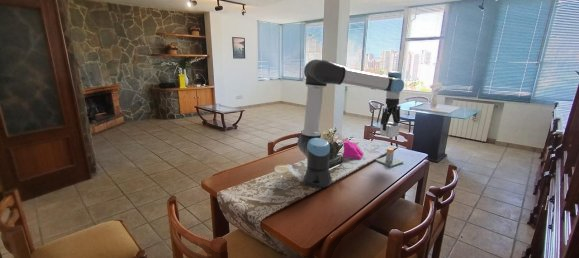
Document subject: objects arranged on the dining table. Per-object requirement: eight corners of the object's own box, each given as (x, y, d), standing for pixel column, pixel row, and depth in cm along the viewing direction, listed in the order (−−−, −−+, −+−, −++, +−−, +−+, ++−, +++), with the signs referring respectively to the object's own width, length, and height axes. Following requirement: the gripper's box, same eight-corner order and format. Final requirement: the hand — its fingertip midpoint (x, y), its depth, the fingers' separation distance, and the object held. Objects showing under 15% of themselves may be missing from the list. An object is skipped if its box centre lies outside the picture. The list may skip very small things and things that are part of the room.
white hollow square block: (390, 137, 163) (391, 126, 161) (379, 134, 169) (380, 123, 167) (398, 135, 167) (399, 124, 165) (388, 132, 173) (389, 121, 171)
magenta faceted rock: (342, 156, 183) (343, 142, 180) (346, 151, 192) (347, 138, 189) (360, 159, 178) (361, 145, 175) (363, 154, 187) (364, 140, 184)
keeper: (390, 167, 166) (392, 153, 163) (375, 160, 175) (376, 148, 173) (402, 163, 172) (404, 150, 169) (387, 157, 181) (388, 144, 179)
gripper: (386, 100, 153) (383, 138, 159) (408, 96, 164) (405, 132, 170) (375, 98, 159) (373, 135, 166) (398, 95, 170) (395, 129, 176)
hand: (389, 133), depth 168 cm, fingers closed on white hollow square block, 8 cm apart
